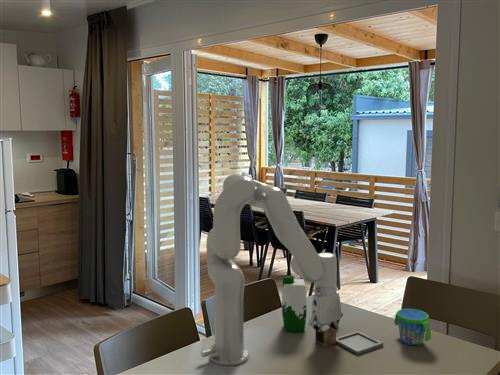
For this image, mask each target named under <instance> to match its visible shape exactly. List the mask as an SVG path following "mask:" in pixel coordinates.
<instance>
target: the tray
mask: <svg viewBox="0 0 500 375" xmlns="http://www.w3.org/2000/svg"><path fill="white" fill-rule="evenodd" d="M335 345H337V346H340V347H341V348H343V349H345V350H347V351H349V352H351V353H353V354H355V355H357V356H359V355H362V354H365V353H367V352H371V351H374V350H375V349H380V348H382V347H384V342H382V341H380V340H378V339H376V338H373V337H372V336H370V335H368V334H366V333H363V332H361V331H359V330H357V331H353V332H351V333H347V334H344V335H340V336H336V344H335Z"/></svg>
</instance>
